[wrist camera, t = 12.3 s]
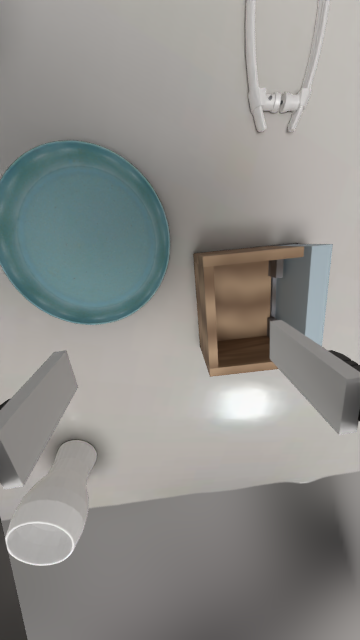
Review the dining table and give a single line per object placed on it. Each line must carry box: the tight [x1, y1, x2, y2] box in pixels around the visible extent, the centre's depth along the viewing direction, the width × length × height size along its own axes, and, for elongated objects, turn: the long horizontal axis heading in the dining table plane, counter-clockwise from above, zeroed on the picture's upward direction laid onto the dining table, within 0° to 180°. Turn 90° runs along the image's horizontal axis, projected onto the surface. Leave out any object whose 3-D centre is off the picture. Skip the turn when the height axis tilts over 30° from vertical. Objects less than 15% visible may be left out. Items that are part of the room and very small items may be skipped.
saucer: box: [0, 140, 170, 325], centre depth 34 cm, size 24×24×3 cm
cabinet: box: [193, 243, 304, 377], centre depth 35 cm, size 16×17×10 cm
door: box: [275, 244, 333, 346], centre depth 35 cm, size 16×2×9 cm, turn 5°
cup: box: [5, 440, 97, 566], centre depth 40 cm, size 11×11×15 cm
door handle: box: [245, 0, 330, 132], centre depth 28 cm, size 3×10×25 cm
